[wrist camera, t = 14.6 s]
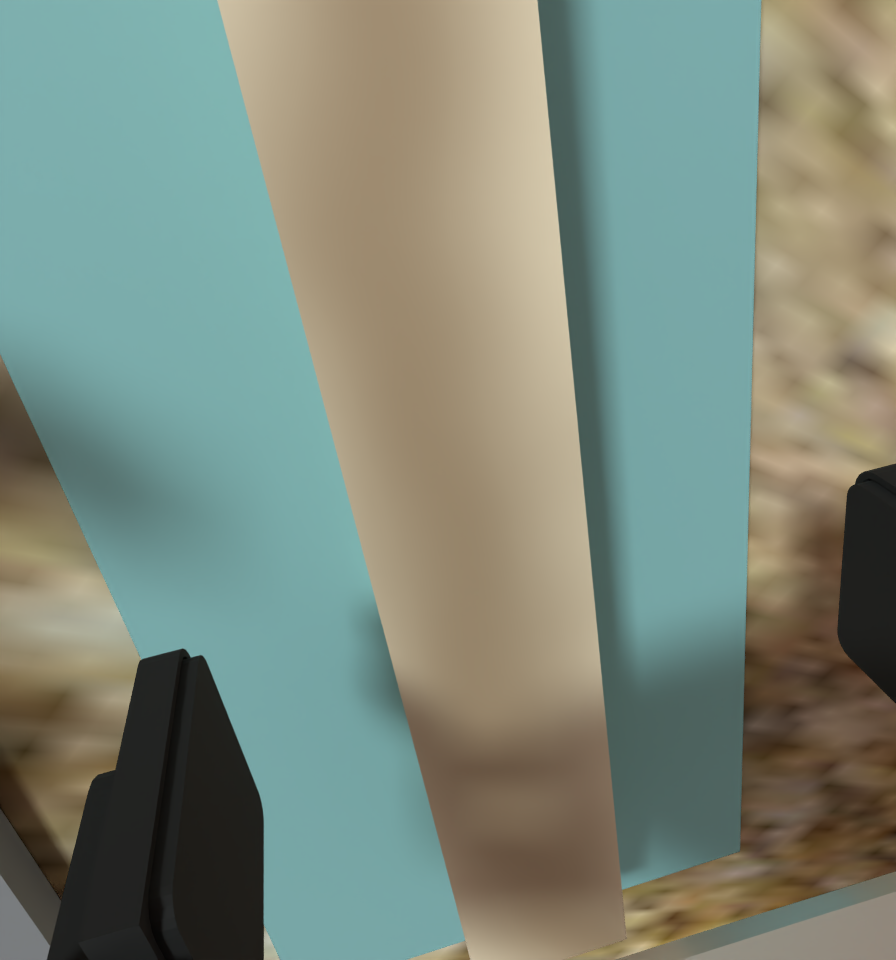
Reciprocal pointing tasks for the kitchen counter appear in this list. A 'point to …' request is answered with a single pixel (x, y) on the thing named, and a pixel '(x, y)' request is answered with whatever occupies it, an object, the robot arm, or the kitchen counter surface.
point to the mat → (309, 443)
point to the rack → (23, 901)
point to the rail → (453, 424)
